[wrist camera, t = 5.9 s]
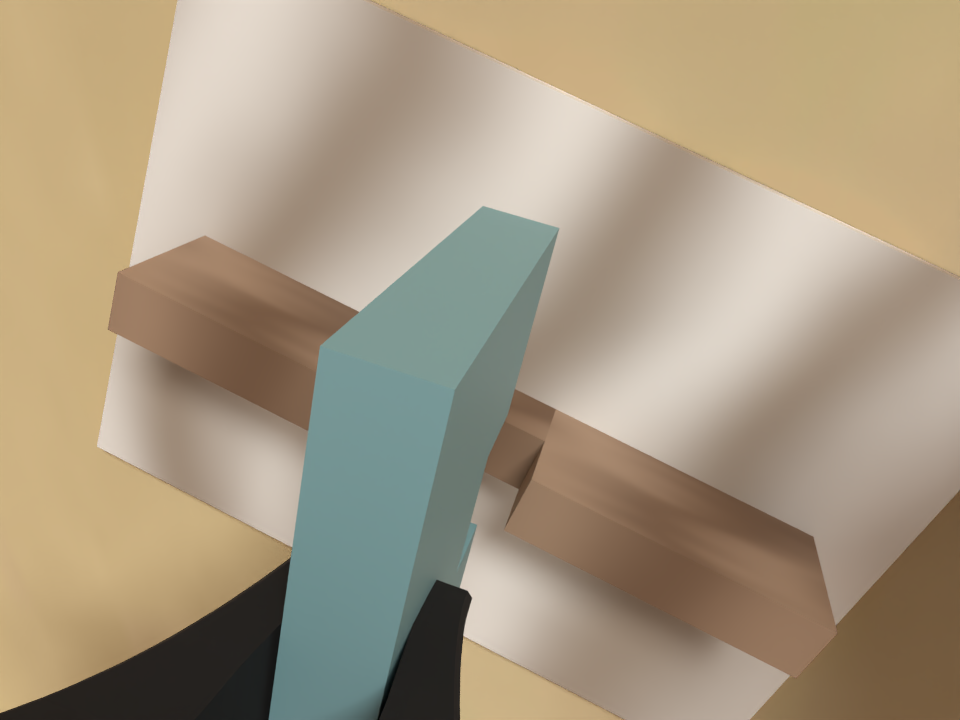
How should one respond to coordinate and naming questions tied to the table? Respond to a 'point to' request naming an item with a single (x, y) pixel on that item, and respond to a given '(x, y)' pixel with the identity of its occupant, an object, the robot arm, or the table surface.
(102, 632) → the table surface
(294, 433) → the off-white flat board
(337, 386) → the teal block
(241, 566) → the table surface
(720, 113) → the table surface
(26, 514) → the table surface
